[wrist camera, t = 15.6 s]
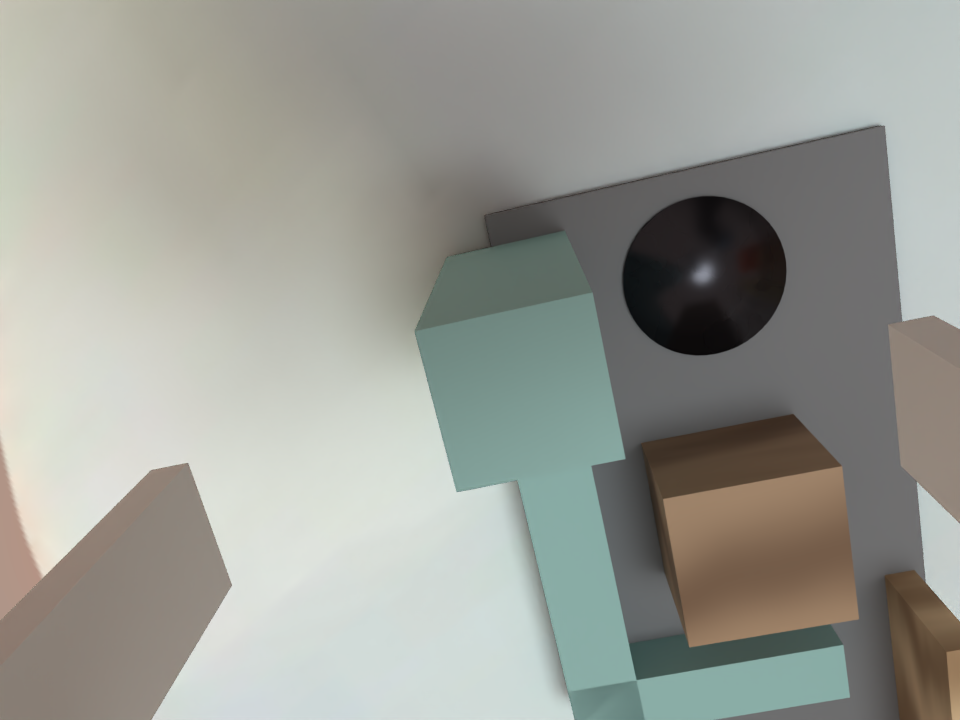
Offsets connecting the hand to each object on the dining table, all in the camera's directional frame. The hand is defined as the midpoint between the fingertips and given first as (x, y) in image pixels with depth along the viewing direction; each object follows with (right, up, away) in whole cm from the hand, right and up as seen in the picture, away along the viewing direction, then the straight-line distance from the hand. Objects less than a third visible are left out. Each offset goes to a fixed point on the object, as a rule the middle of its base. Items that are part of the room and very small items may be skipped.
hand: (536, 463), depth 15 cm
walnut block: (+9, -4, +18) cm, 21 cm away
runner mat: (+10, -7, +20) cm, 23 cm away
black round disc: (+7, +5, +16) cm, 18 cm away
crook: (+6, -3, +18) cm, 19 cm away
